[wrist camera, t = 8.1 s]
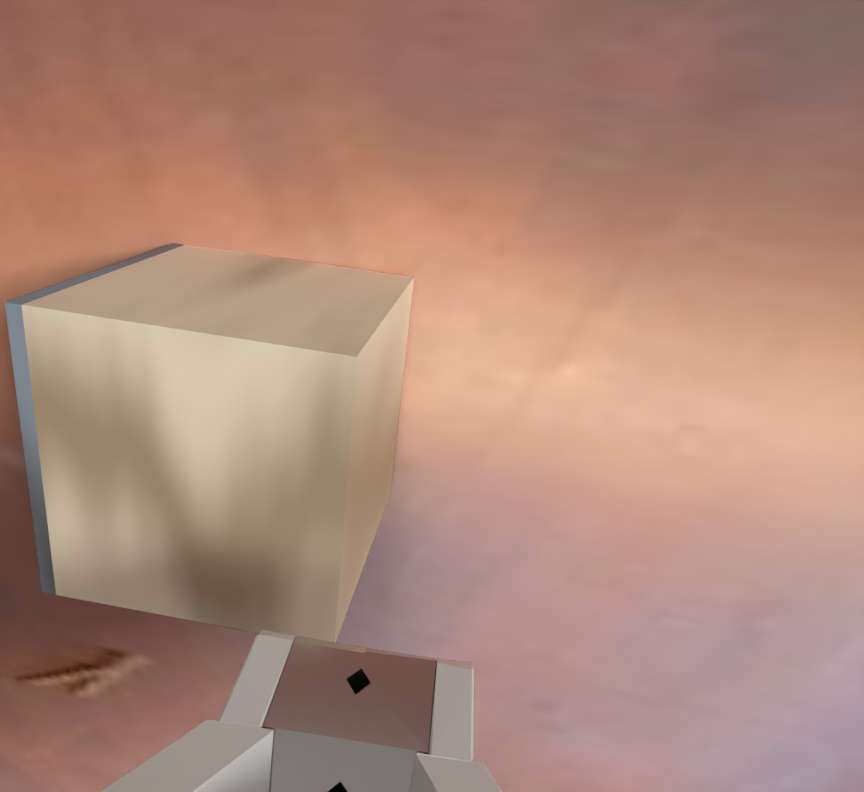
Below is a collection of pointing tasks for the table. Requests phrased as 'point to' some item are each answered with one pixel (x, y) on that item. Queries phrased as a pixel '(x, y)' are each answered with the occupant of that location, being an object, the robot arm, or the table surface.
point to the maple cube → (211, 433)
